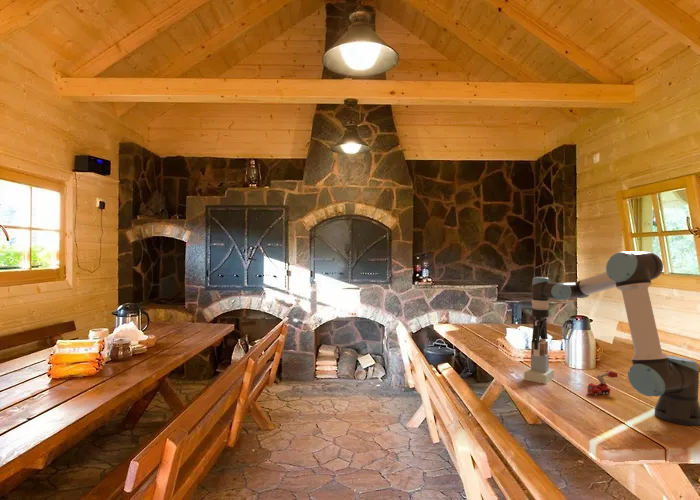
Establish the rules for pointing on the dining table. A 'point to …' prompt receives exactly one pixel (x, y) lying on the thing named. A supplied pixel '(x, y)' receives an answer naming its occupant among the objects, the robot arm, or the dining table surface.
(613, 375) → the toy fire truck
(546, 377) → the plinth
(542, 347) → the block
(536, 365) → the block
